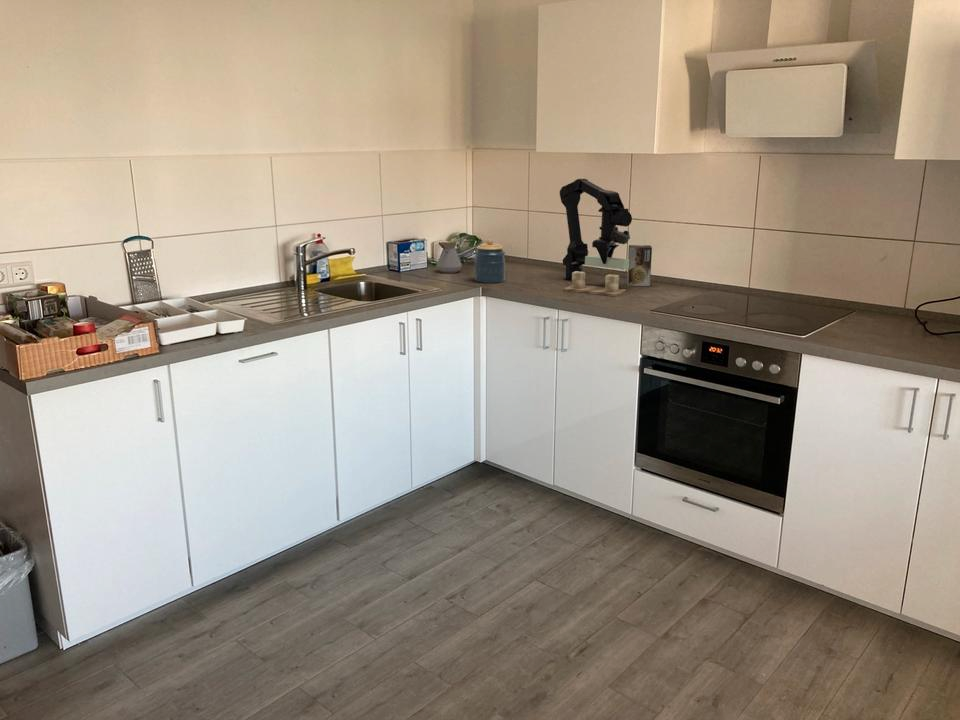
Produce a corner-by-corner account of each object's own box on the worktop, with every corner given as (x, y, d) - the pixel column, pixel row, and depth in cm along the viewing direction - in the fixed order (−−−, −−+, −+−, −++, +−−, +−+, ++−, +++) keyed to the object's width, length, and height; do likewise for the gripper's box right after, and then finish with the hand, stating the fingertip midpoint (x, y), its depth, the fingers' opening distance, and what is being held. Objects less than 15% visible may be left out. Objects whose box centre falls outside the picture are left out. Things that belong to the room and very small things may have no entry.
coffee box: (648, 283, 320) (651, 245, 315) (650, 286, 314) (652, 247, 309) (626, 283, 321) (628, 244, 316) (627, 286, 315) (629, 246, 310)
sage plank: (584, 264, 314) (585, 256, 313) (589, 263, 317) (590, 255, 316) (623, 269, 303) (624, 260, 302) (628, 268, 306) (629, 259, 305)
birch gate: (563, 290, 304) (564, 273, 302) (574, 286, 313) (575, 269, 311) (616, 296, 293) (617, 278, 291) (626, 292, 302) (627, 274, 300)
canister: (503, 278, 331) (504, 236, 326) (506, 283, 319) (506, 240, 314) (473, 278, 331) (474, 236, 326) (474, 283, 318) (474, 240, 313)
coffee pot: (440, 269, 352) (440, 236, 348) (464, 270, 349) (464, 237, 345) (426, 277, 332) (425, 242, 328) (451, 278, 329) (451, 243, 325)
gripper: (619, 227, 294) (617, 268, 298) (635, 223, 309) (633, 261, 314) (592, 225, 299) (590, 265, 303) (609, 221, 315) (607, 259, 319)
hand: (606, 263), depth 310 cm, fingers closed on sage plank, 4 cm apart
